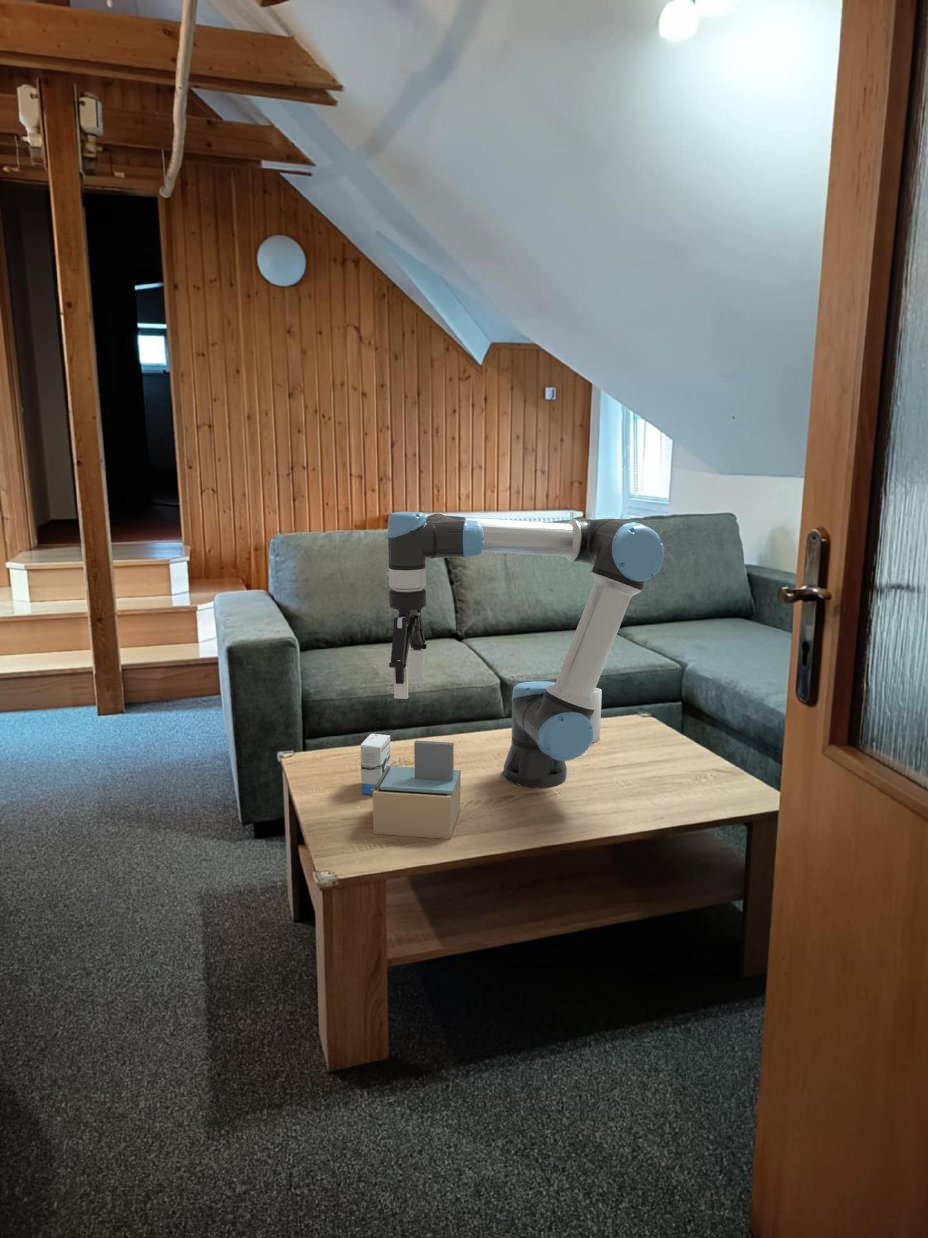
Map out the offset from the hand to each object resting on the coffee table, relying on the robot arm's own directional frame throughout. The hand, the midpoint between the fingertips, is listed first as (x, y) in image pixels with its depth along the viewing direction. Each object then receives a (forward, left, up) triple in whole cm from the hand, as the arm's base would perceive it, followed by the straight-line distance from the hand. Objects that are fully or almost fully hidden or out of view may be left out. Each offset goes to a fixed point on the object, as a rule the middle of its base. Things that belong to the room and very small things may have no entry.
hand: (409, 688), depth 179 cm
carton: (-2, +3, -28) cm, 29 cm away
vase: (-35, -53, -29) cm, 70 cm away
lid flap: (-2, +3, -19) cm, 20 cm away
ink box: (+11, -13, -29) cm, 33 cm away
